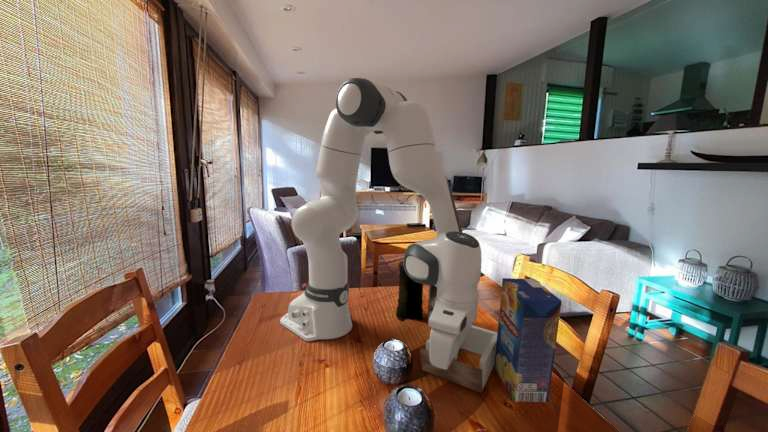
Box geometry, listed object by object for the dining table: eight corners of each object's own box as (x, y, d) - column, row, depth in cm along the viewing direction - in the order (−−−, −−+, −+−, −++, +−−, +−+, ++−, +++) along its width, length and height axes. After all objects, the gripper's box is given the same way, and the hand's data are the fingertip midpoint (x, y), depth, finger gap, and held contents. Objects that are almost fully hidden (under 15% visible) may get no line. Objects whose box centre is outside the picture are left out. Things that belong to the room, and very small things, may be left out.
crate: (424, 371, 81) (426, 341, 79) (445, 344, 93) (447, 318, 91) (482, 394, 74) (485, 361, 72) (497, 362, 85) (500, 333, 84)
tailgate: (422, 371, 80) (419, 351, 77) (424, 367, 80) (421, 348, 77) (481, 394, 72) (480, 373, 69) (482, 390, 73) (481, 369, 70)
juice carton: (547, 407, 70) (561, 301, 66) (512, 407, 70) (524, 300, 66) (523, 371, 82) (534, 278, 78) (493, 370, 82) (502, 278, 78)
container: (408, 307, 115) (410, 257, 111) (429, 317, 108) (432, 264, 105) (389, 315, 108) (391, 262, 105) (410, 326, 102) (413, 270, 99)
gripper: (456, 287, 83) (452, 338, 86) (425, 322, 66) (421, 384, 68) (482, 293, 80) (476, 345, 83) (456, 331, 63) (451, 396, 65)
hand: (451, 363), depth 75 cm, fingers closed, pressing on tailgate
